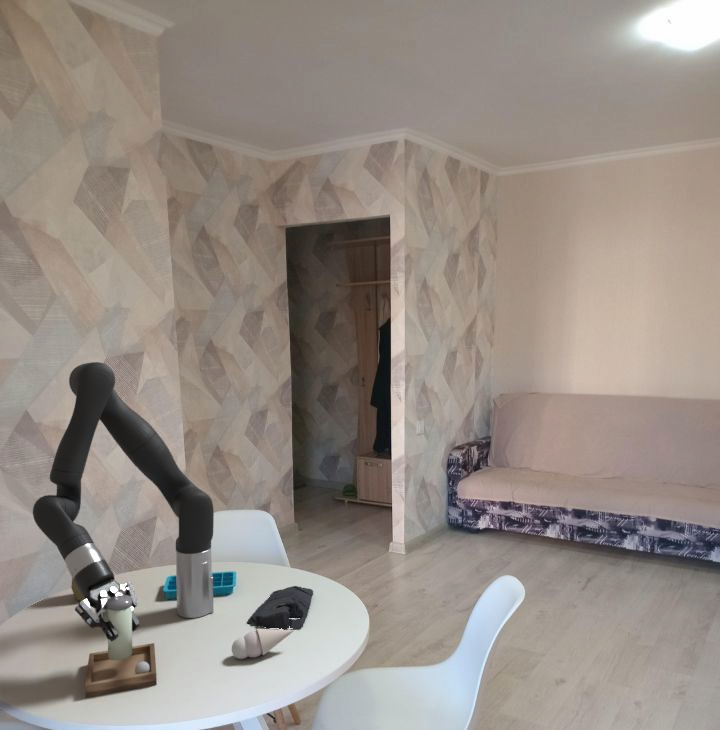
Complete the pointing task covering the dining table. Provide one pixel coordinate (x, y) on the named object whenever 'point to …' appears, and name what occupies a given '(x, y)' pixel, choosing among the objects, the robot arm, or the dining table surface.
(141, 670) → the ball
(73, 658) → the dining table surface
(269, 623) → the dark slate chunk
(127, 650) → the shaker
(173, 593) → the ice cube tray
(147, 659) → the tray
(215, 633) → the dining table surface
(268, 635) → the ice cream cone
